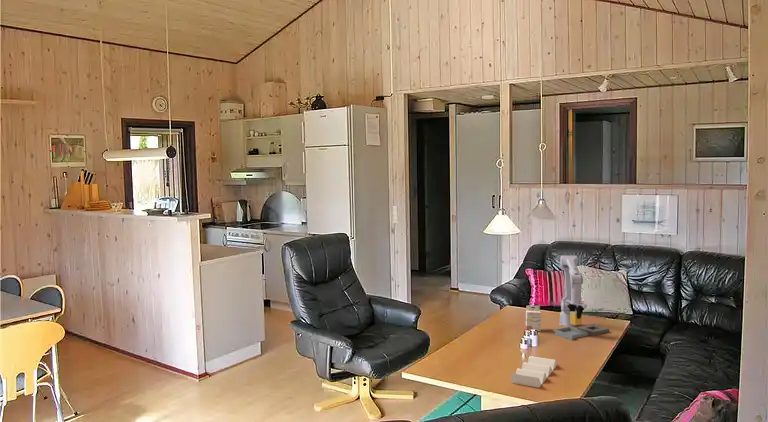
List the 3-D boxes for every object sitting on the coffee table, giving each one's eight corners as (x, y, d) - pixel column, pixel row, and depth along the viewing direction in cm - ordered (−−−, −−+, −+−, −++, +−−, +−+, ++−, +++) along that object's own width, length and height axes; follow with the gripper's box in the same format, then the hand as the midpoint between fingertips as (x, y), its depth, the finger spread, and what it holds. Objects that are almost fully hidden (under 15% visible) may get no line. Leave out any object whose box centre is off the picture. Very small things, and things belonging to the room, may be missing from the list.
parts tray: (554, 334, 358) (554, 329, 358) (569, 331, 364) (569, 326, 364) (572, 340, 346) (572, 335, 346) (587, 337, 352) (587, 332, 351)
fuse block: (576, 331, 363) (576, 327, 363) (593, 328, 369) (593, 324, 369) (592, 336, 352) (592, 332, 352) (609, 333, 359) (609, 328, 358)
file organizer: (557, 365, 305) (557, 356, 305) (539, 389, 275) (539, 378, 274) (531, 361, 311) (531, 352, 311) (511, 384, 281) (511, 373, 281)
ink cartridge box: (526, 331, 366) (526, 307, 364) (525, 328, 370) (525, 305, 369) (540, 331, 365) (541, 307, 363) (539, 329, 370) (539, 305, 368)
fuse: (570, 323, 356) (570, 311, 356) (576, 322, 359) (577, 310, 358) (575, 325, 353) (575, 313, 352) (582, 323, 355) (582, 311, 355)
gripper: (562, 293, 359) (561, 315, 360) (580, 298, 346) (580, 321, 347) (570, 292, 362) (570, 314, 363) (589, 296, 349) (589, 319, 350)
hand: (575, 317), depth 355 cm, fingers closed on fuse, 4 cm apart
